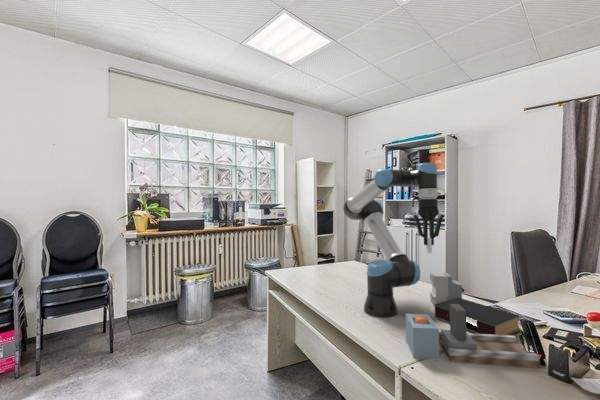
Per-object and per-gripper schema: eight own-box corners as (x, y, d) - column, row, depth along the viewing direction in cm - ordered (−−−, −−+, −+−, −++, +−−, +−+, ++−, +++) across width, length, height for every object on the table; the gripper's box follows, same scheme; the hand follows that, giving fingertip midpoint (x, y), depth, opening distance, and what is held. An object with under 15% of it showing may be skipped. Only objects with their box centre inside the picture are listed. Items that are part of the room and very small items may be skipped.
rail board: (450, 361, 92) (449, 350, 92) (436, 340, 106) (436, 331, 106) (540, 368, 88) (540, 356, 88) (513, 345, 102) (513, 335, 102)
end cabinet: (413, 357, 95) (413, 327, 95) (406, 340, 107) (405, 313, 107) (439, 359, 94) (438, 328, 94) (428, 341, 106) (428, 314, 106)
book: (495, 343, 105) (495, 325, 105) (434, 319, 127) (434, 304, 127) (519, 332, 113) (519, 315, 113) (458, 311, 135) (458, 297, 135)
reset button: (416, 332, 99) (416, 319, 99) (413, 327, 103) (413, 315, 103) (428, 332, 98) (428, 320, 98) (425, 327, 102) (425, 315, 102)
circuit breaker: (465, 308, 138) (465, 277, 138) (434, 306, 141) (433, 275, 141) (460, 302, 145) (459, 273, 145) (430, 301, 148) (429, 272, 148)
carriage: (450, 351, 94) (450, 311, 94) (441, 337, 104) (440, 301, 104) (477, 353, 93) (476, 313, 93) (465, 339, 103) (464, 302, 103)
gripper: (414, 198, 122) (415, 254, 122) (446, 198, 120) (447, 254, 120) (410, 198, 129) (411, 251, 129) (441, 198, 127) (441, 251, 127)
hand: (428, 252), depth 125 cm, fingers closed
